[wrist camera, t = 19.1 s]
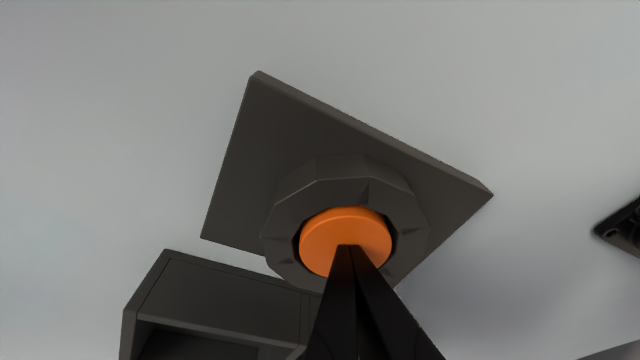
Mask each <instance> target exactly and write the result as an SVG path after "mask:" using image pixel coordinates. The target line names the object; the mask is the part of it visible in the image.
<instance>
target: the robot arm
mask: <svg viewBox="0 0 640 360" xmlns="http://www.w3.org/2000/svg"><path fill="white" fill-rule="evenodd" d="M594 233H595V234H596V235H597V236H599V237H600V238H601V239H603V240H605V241H607V242H609V243H611V244H613V245H615V246H617V247H619V248H621V249H623V250H625V251H627V252H628V253H630V254H632V255H634V256H636V257H638V258H640V198H639V199H638V200H636V201H635V202H633V203H632V204H630V205H629V206H627V207H625V208H624V209H622V210H621V211H619V212H618V213H616V214H615V215H613V216H612V217H610V218H609V219H607V220H606V221H604V222H603V223H601V224H600V225H598V226H597V227H596V228H595V229H594ZM358 353H359V357H358ZM359 358H360V360H446V359H445V358H444V357H443V355H442V354H441V353H440V351H439V350H438V349H437V348H436V346H435V345H434V344H433V343H432V341H431V340H430V339H429V337H428V336H427V335H426V333H425V332H424V331H423V329H422V328H421V327H419V324H418V323H417V321H416V320H415V319H414V317H413V316H412V315H411V313H410V312H409V311H408V309H407V308H406V307H405V305H404V304H403V303H402V301H401V300H400V299H399V297H398V296H397V295H396V293H395V292H394V291H393V289H392V288H391V287H390V285H389V284H388V283H387V281H386V280H385V279H384V277H383V276H382V275H381V273H380V272H379V271H378V269H377V268H376V266H375V265H374V264H373V262H372V261H371V260H370V258H369V257H368V256H367V254H366V253H365V252H364V250H363V249H362V248H361V246H360V245H357V244H350V245H349V246H348V245H347V244H339V245H337V248H336V251H335V255H334V258H333V261H332V265H331V268H330V271H329V275H328V278H327V281H326V285H325V288H324V291H323V295H322V298H321V301H320V305H319V308H318V311H317V315H316V318H315V321H314V325H313V328H312V331H311V334H310V338H309V341H308V344H307V347H306V350H305V353H304V356H303V359H302V360H359Z"/></svg>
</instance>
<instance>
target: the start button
mask: <svg viewBox="0 0 640 360" xmlns="http://www.w3.org/2000/svg"><path fill="white" fill-rule="evenodd" d="M339 244H347V245H348V246H349V245H350V244H357V245H360V246H361V248H362V249H363V250H364V252H365V253H366V254H367V256H368V257H369V258H370V260H371V261H372V262H373V264H374V265H375V266H376V268H379V267H380V266H381V265H382V264H383V263H384V262H385V261H386V260H387V258H388V257H389V254H390V252H391V248H392V240H391V237H390V234H389V231H388V228H387V226H386V223H385V220H384V218H383V215H382V213H379V212H376V211H374V210H371V209H369V208H366V207H364V206H361V205H358V206H342V207H328V208H326V209H324V210H323V211H321V212H319V213H317V214H315V215H313V216H311V217H309V218H307V219H305V220H304V221H303V222H302V223H301V226H300V242H299V253H300V257H301V259H302V261H303V263H304V264H305V265H306V266H307V268H309V269H310V270H311V271H313V272H314V273H316V274H318V275H321V276H324V277H327V278H328V275H329V271H330V268H331V265H332V261H333V258H334V255H335V251H336V248H337V245H339Z"/></svg>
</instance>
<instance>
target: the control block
mask: <svg viewBox="0 0 640 360" xmlns="http://www.w3.org/2000/svg"><path fill="white" fill-rule="evenodd" d="M493 196H494V195H493V193H492V192H490V191H489V190H488V189H487V188H486V187H485V186H484V185H483V184H482V183H481V182H480V181H478V180H477V179H475V178H473V177H471V176H469V175H467V174H465V173H463V172H461V171H459V170H457V169H455V168H453V167H451V166H449V165H447V164H445V163H443V162H441V161H439V160H437V159H435V158H433V157H431V156H429V155H427V154H425V153H423V152H421V151H419V150H417V149H415V148H413V147H411V146H409V145H407V144H405V143H403V142H401V141H399V140H397V139H395V138H393V137H391V136H389V135H387V134H385V133H383V132H381V131H379V130H377V129H375V128H373V127H371V126H369V125H367V124H365V123H363V122H361V121H359V120H357V119H355V118H353V117H351V116H349V115H347V114H345V113H343V112H341V111H339V110H337V109H335V108H333V107H331V106H329V105H327V104H325V103H323V102H321V101H319V100H317V99H315V98H313V97H311V96H309V95H307V94H305V93H303V92H301V91H299V90H297V89H295V88H293V87H291V86H289V85H287V84H285V83H283V82H281V81H279V80H277V79H275V78H273V77H271V76H269V75H267V74H265V73H263V72H261V71H257V72H255V73H254V74H253V75H251V76H250V77H249V80H248V84H247V87H246V90H245V93H244V96H243V100H242V103H241V106H240V109H239V112H238V116H237V119H236V122H235V125H234V129H233V132H232V135H231V138H230V141H229V145H228V148H227V151H226V154H225V157H224V161H223V164H222V167H221V170H220V173H219V177H218V180H217V183H216V186H215V190H214V193H213V196H212V199H211V202H210V206H209V209H208V212H207V215H206V218H205V222H204V225H203V228H202V231H201V234H200V238H202V239H205V240H209V241H212V242H216V243H219V244H222V245H226V246H229V247H233V248H236V249H240V250H243V251H247V252H250V253H254V254H257V255H261V256H264V257H265V258H266V262H267V265H268V266H269V267H270V268H271V269H272V270H273V271H275V272H276V273H277V274H278V275H280V276H281V277H282V278H283V279H285V280H286V281H287V282H288V283H290V284H291V285H293V286H294V287H298V288H302V289H306V290H310V291H313V292H317V293H321V294H323V291H324V288H325V285H326V281H327V277H324V276H321V275H318V274H316V273H314V272H313V271H311V270H310V269H309V268H307V266H306V265H305V264H304V263H303V261H302V259H301V257H300V253H299V242H300V226H301V223H302V222H303V221H304V220H305V219H307V218H309V217H311V216H313V215H315V214H317V213H319V212H321V211H323V210H324V209H326V208H328V207H342V206H358V205H361V206H364V207H366V208H369V209H371V210H374V211H376V212H379V213H382V215H383V218H384V220H385V223H386V226H387V228H388V231H389V234H390V237H391V240H392V248H391V252H390V254H389V257H388V258H387V260H386V261H385V262H384V263H383V264H382V265H381V266H380V267H379V268H377V269H378V271H379V272H380V273H381V275H382V276H383V277H384V279H385V280H386V281H387V283H388V284H389V285H390V287H391V288H392V289H393V288H394V287H395V286H396V285H397V284H398V283H399V282H400V281H401V280H402V279H403V278H405V277H406V276H407V275H408V274H409V273H410V272H411V271H412V270H413V269H414V268H416V267H417V266H418V265H419V264H420V263H421V262H422V261H423V260H424V259H425V258H426V257H428V256H429V255H430V254H431V253H432V252H433V251H434V250H435V249H436V248H437V247H439V246H440V245H441V244H442V243H443V242H444V241H445V240H446V239H447V238H448V237H449V236H451V235H452V234H453V233H454V232H455V231H456V230H457V229H458V228H459V227H460V226H462V225H463V224H464V223H465V222H466V221H467V220H468V219H469V218H470V217H471V216H472V215H474V214H475V213H476V212H477V211H478V210H479V209H480V208H481V207H482V206H483V205H485V204H486V203H487V202H488V201H489V200H490V199H491V198H492V197H493Z"/></svg>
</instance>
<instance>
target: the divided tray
mask: <svg viewBox="0 0 640 360" xmlns="http://www.w3.org/2000/svg"><path fill="white" fill-rule="evenodd" d="M322 295H323V294H321V293H317V292H313V291H310V290H306V289H302V288H298V287H294V286H293V285H291V284H290V283H288V282H287V281H284V280H280V279H276V278H272V277H269V276H265V275H261V274H257V273H254V272H250V271H246V270H242V269H239V268H235V267H231V266H228V265H224V264H220V263H216V262H213V261H209V260H205V259H201V258H198V257H194V256H190V255H186V254H183V253H179V252H175V251H171V250H168V249H164V250H163V251H162V253H161V254H160V256H159V257H158V259H157V260H156V262H155V263H154V265H153V266H152V268H151V269H150V271H149V272H148V274H147V275H146V277H145V278H144V280H143V281H142V283H141V284H140V286H139V287H138V288H137V290H136V291H135V293H134V294H133V296H132V297H131V299H130V300H129V302H128V303H127V305H126V306H125V308H124V309H123V317H122V328H121V339H120V350H119V360H302V359H303V356H304V353H305V350H306V347H307V344H308V341H309V338H310V334H311V331H312V328H313V325H314V321H315V318H316V315H317V311H318V308H319V305H320V301H321V298H322ZM358 357H359V353H358ZM359 360H360V358H359Z"/></svg>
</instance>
